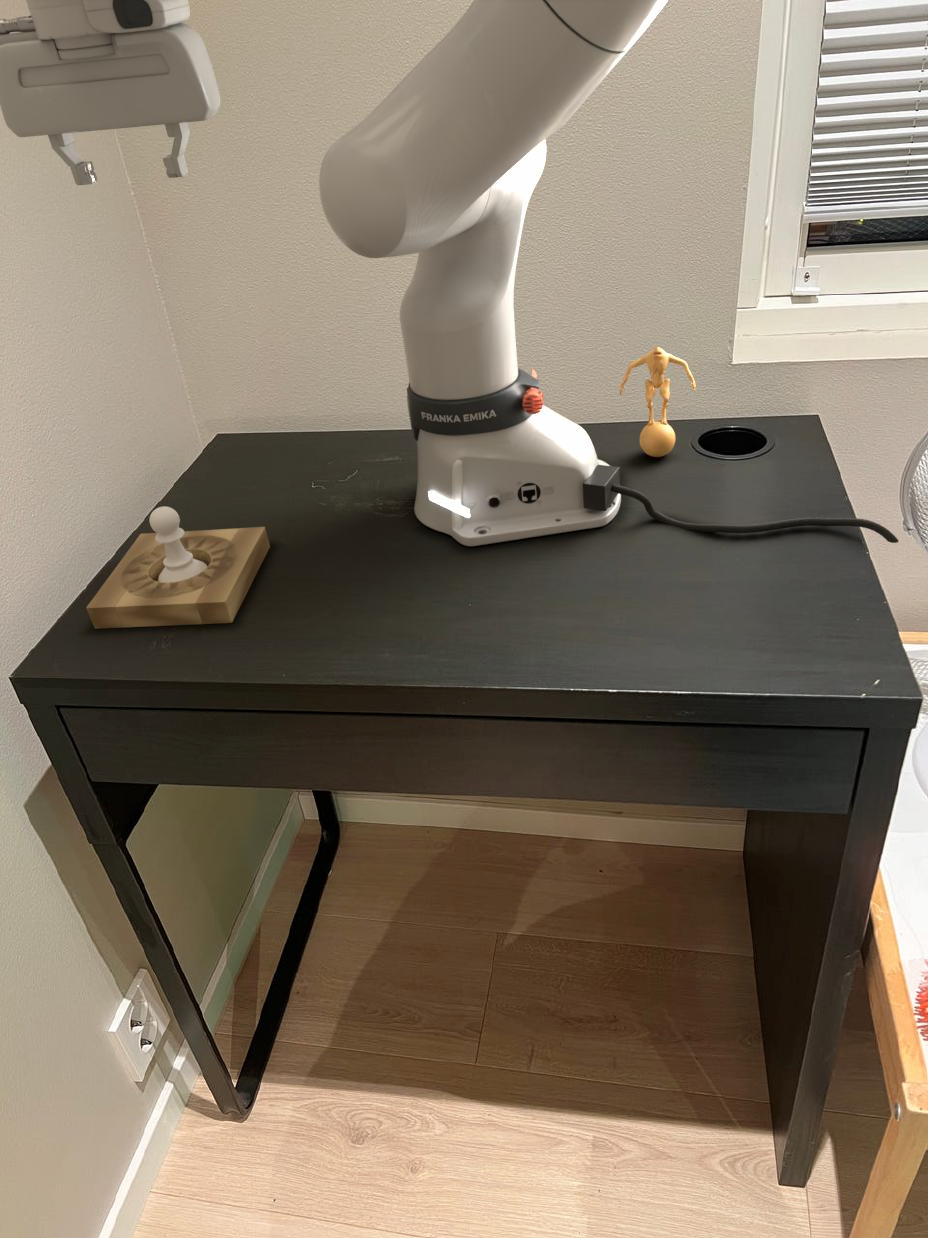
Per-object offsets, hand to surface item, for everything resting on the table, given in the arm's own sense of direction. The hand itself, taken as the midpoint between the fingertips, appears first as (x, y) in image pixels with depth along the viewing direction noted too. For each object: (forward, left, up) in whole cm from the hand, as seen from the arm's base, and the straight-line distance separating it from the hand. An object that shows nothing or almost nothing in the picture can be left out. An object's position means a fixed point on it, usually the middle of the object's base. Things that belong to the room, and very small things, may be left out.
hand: (132, 179), depth 89 cm
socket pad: (-1, +18, -35) cm, 40 cm away
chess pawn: (-1, +18, -35) cm, 40 cm away
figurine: (-50, -6, -35) cm, 62 cm away
